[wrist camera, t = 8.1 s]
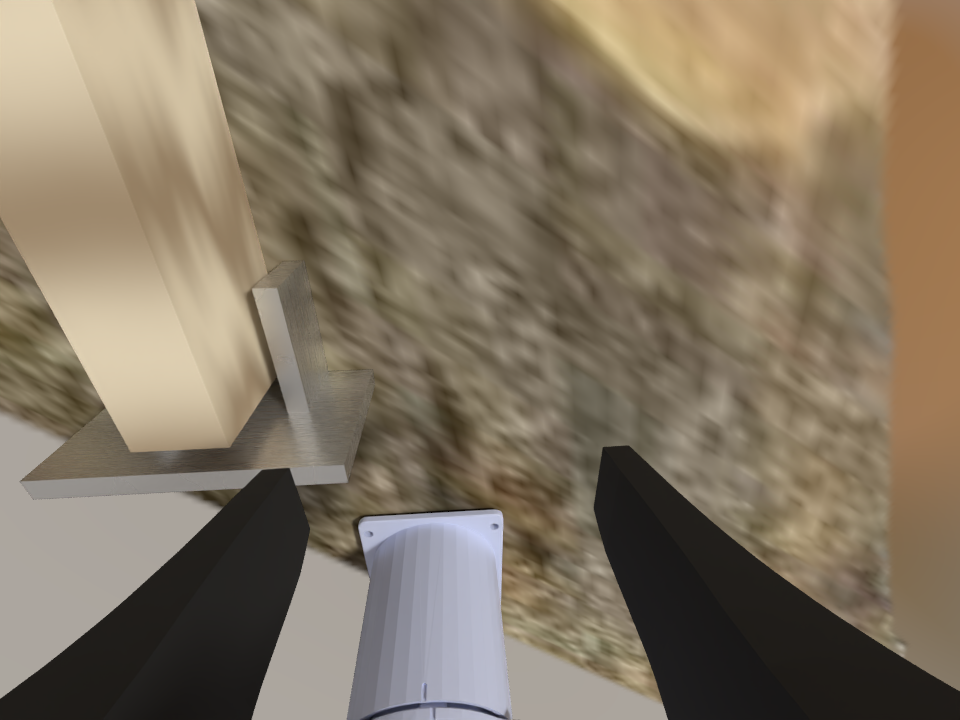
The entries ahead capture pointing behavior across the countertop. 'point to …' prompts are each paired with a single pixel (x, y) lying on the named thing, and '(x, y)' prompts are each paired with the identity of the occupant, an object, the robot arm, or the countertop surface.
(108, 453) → the bracket
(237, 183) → the rail
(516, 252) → the countertop surface
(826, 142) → the countertop surface
